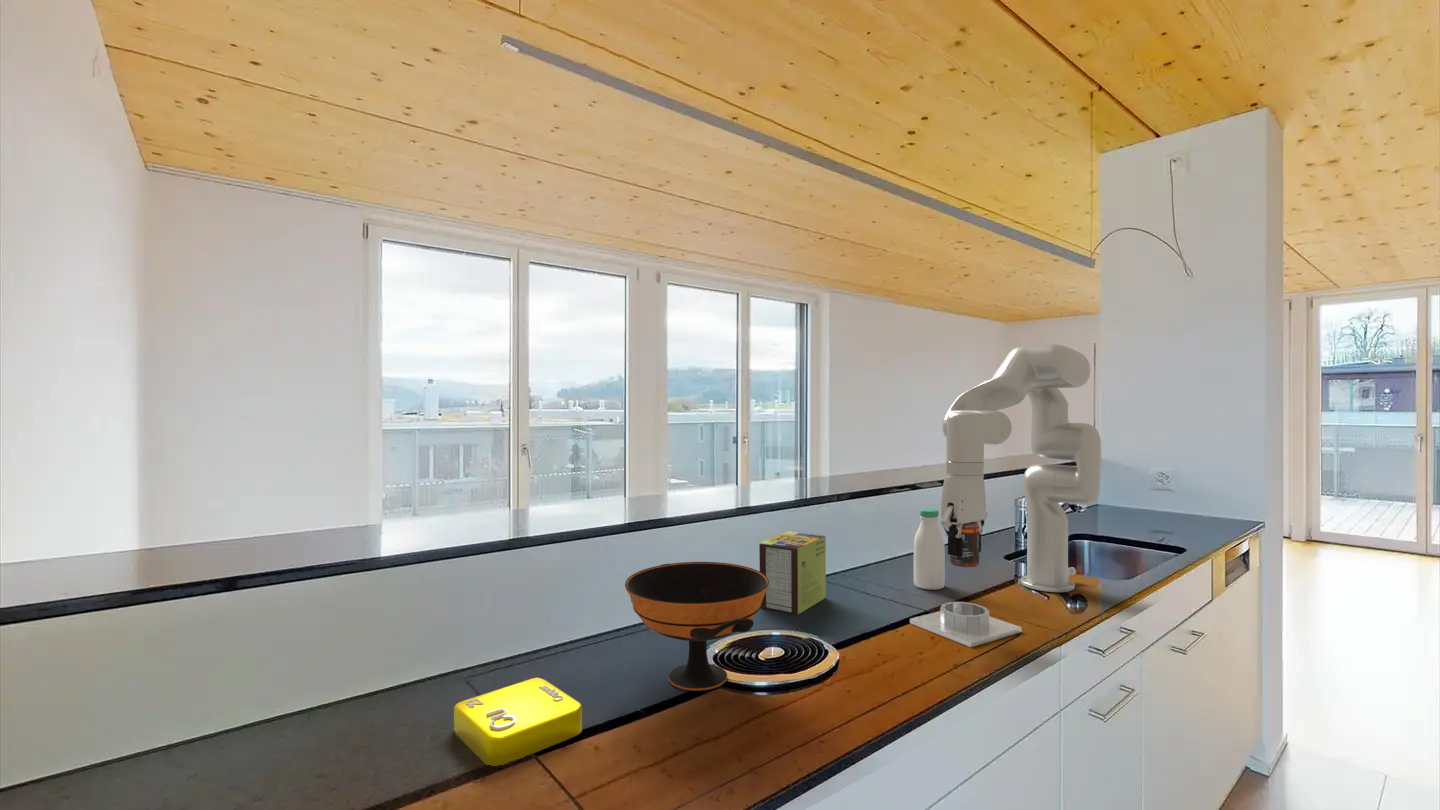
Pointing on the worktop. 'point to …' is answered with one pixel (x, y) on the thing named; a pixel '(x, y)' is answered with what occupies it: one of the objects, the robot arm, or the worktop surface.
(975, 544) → the supplement bottle
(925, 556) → the milk bottle
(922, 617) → the duct flange
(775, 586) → the protein box
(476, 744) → the element tile
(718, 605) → the greek kylix
